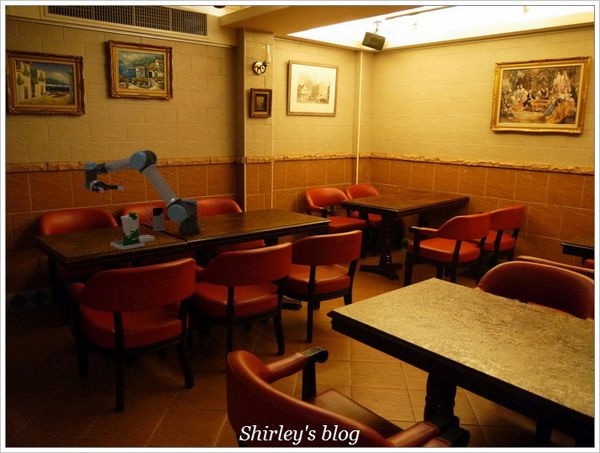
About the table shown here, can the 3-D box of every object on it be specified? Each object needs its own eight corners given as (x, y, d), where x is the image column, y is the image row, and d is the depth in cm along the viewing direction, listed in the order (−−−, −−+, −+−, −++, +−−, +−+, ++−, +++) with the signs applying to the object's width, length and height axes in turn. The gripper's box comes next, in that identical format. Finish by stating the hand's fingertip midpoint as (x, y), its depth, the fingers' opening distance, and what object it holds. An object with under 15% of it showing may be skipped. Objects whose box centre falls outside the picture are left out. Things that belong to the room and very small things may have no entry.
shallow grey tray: (132, 241, 325) (132, 238, 324) (144, 245, 315) (144, 242, 315) (110, 245, 315) (110, 242, 314) (122, 249, 305) (122, 246, 304)
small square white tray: (147, 237, 337) (147, 234, 336) (154, 240, 331) (154, 236, 330) (135, 239, 330) (134, 236, 330) (142, 242, 324) (141, 239, 324)
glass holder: (161, 230, 358) (161, 209, 355) (143, 229, 361) (142, 208, 358) (167, 228, 367) (166, 207, 364) (149, 227, 369) (148, 206, 366)
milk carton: (131, 247, 309) (129, 214, 305) (120, 245, 313) (118, 213, 309) (142, 244, 317) (140, 212, 313) (131, 242, 321) (129, 211, 317)
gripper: (116, 190, 351) (131, 193, 337) (80, 193, 334) (94, 197, 319) (115, 179, 350) (131, 182, 335) (79, 182, 332) (93, 185, 318)
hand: (113, 189), depth 327 cm, fingers open, 13 cm apart
